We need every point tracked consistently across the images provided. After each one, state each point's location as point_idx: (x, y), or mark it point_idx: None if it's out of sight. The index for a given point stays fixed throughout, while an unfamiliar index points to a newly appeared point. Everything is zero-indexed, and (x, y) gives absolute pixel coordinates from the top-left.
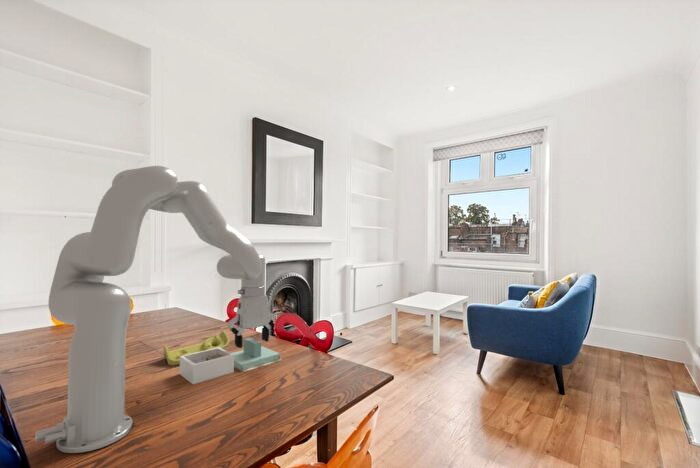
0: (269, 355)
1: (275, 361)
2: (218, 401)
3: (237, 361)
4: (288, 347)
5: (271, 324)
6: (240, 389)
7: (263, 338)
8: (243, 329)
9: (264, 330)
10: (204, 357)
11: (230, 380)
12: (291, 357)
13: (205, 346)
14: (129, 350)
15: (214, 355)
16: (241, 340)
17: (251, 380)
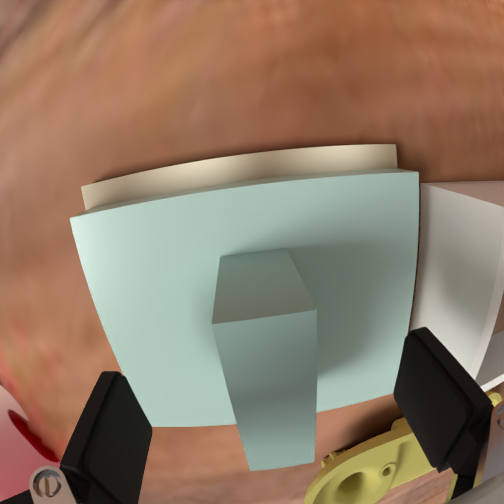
0: (152, 227)
1: (130, 180)
2: (499, 13)
3: (410, 250)
4: (26, 372)
5: (19, 500)
6: (438, 11)
7: (139, 422)
8: (488, 477)
9: (113, 483)
10: (500, 348)
11: (451, 127)
12: (25, 241)
13: (395, 470)
14: (439, 486)
15: (496, 333)
16: (454, 369)
17: (374, 43)
